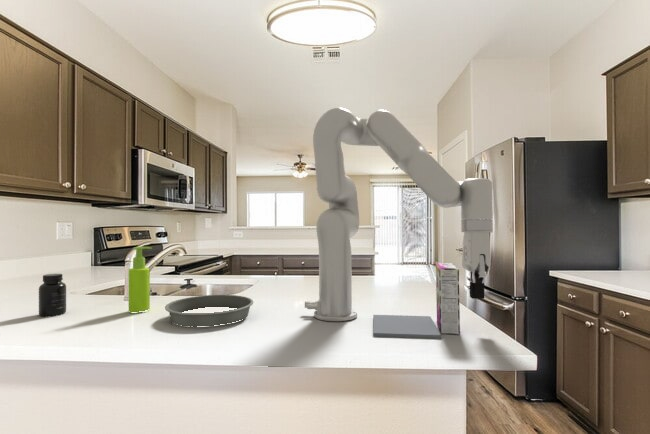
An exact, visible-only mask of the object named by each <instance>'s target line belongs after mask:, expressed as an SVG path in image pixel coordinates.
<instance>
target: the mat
mask: <svg viewBox="0 0 650 434" xmlns="http://www.w3.org/2000/svg"><path fill="white" fill-rule="evenodd" d="M372 316H373V317H372V318H373V324H372V325H373V330H372V331H373V337H381V338H382V337H383V338H384V337H388V338H411V339H414V338H415V339H442V338H443V337H442V334H441V333H440V330H439V327H437V325H436V324H435V322H434V321H433V319H432V316H430V315H429V316H428V315H400V314H399V315H395V314H388V315H387V314H373V315H372Z"/></svg>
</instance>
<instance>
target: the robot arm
mask: <svg viewBox="0 0 650 434" xmlns="http://www.w3.org/2000/svg"><path fill="white" fill-rule="evenodd" d="M342 143H343V144H346V145H348V146H361V147H362V146H365V147H369V146H370V147H380V148H381V150H383V151H384V153H386V155H387V156H388V157H389V158H390V159H391V160H392V161H393V163H395V165H397V167H398V168H399V169H400V170H401V171H402V172H403V173H405V174H406V175H407V176H408V177H409V178H410V179H411V180H412V181H413V182H414V183H415V185H416V186H417V187H418V188H419V189H420V190H421V191H422V193H424V194H425V196H427V198H429V200H430V201H431V202H432V203H433V204H434V205H436V206H438V207H441V208H443V209H444V208H445V209H448V208H454V207H461V208H460V212H461V213H460V217H461V220H460V222H461V223H460V226H461V227H460V229H461V230H460V232H461V233H463V237H462V238H463V240H462V255H461V259H462V260H461V266H462V268H463V269H464V270H466V271H468V272H469V297H470V298H471V299H474V300H484V299H485V281H486V280H485V279H486V273H488V272H489V271H490V270H491V261H492V259H491V255H492V254H491V238H490V237H491V236H490V233H493V230H494V229H493V228H494V227H493V225H494V224H493V221H494V220H493V210H494V209H493V182H492V181H491V179H489V178H485V177H483V178H482V177H481V178H480V177H479V178H478V177H475V178H473V177H472V178H466V179H463V181H462V180H461V181H460V180H455V178H453V177H452V176H451V174H450V173H448V172H447V171H446V169H444V167H443V166H441V164H440V163H439V162H438V161H437V160H436V159H435V158H434V157H433V156H432V155H431V153H429V151H428V150H427V149H426V148H425V146H424V145H423V144H422V143H421V142H420V140H418V138H416V137H415V136H414V135H413V134H412V133H411V131H409V130H408V129H407V128H406V127H405V125H403V123H401V121H400V120H399V119H398V118H397V117H396V116H395V115H394V114H393V113H391V112H390V111H389V110H388V111H387V110H386V109H385V110H384V109H379V110H376V111H374V112H373V113H372V112H371V114H370V115H369V117H368V118H362V117H361V118H360V117H359V118H358V117H357V116H356V115H354V114H353V112H351V111H350V110H349V109H346V108H343V107H333V108H330V109H328V110H327V111H325V113H323V114H322V115H321V116H320V118H319V119H318V121H317V122H316V124H315V126H314V129H313V136H312V144H313V146H312V147H313V155H314V167H315V168H314V169H315V178H316V179H315V180H316V191H317V196H318V198H319V199H320V200H321V201H322V202H324V203H327V204H328V208H327V209H326V210H324V211H322V212H321V213H320V215H319V216H318V219H317V221H316V228H315V229H316V236H317V243H318V244H317V245H318V288H319V289H318V297H319V298H318V300H315V301H308V300H307V301H304V309H306V310H314V311H313V316H314V318H316V319H318V320H320V321H325V322H345V321H351V320H353V319H356V318H357V317H358V312H357V310H354V309H353V307H352V305H353V303H352V302H353V301H352V300H353V297H352V295H353V294H352V293H353V292H352V291H353V288H352V283H353V282H352V281H353V280H352V279H353V277H352V276H353V275H352V273H353V272H352V270H353V269H352V264H353V263H352V246H351V245H352V244H351V238H353V237H354V236H355V235H356V234H357V232H358V230H359V227H360V213H359V202H358V194H357V193H358V192H357V187H356V184H355V182H354V181H353V179H352V178H351V177H349V176H348V175H346V171H345V163H344V152H343V150H342Z"/></svg>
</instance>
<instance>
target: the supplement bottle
mask: <svg viewBox="0 0 650 434" xmlns="http://www.w3.org/2000/svg"><path fill="white" fill-rule="evenodd" d="M63 280H64V279H63V274H62V273H47V274H44V275H43V276H42V282H43V283H41V285H39V287H38V315H39V316H40V317H43V318H49V317H48V316H51V317H57V316H56V315H58V316H60V315H61V314H62V315H64V314H66V312H67V285H66V283H65V282H63ZM62 315H61V316H62ZM46 316H47V317H46Z"/></svg>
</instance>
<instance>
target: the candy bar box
mask: <svg viewBox="0 0 650 434" xmlns="http://www.w3.org/2000/svg"><path fill="white" fill-rule="evenodd" d="M435 287H436V288H435V289H436V290H435V291H436V293H435V294H436V295H435V297H436V299H435V300H436V323H437V326H438V330H439V332H440V334H441V335H460V334H461V320H460V319H461V318H460V317H461V315H460V313H461V311H460V305H461V304H460V268H458V266H456V265H455V264H454V263H452V262H436V263H435Z"/></svg>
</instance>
